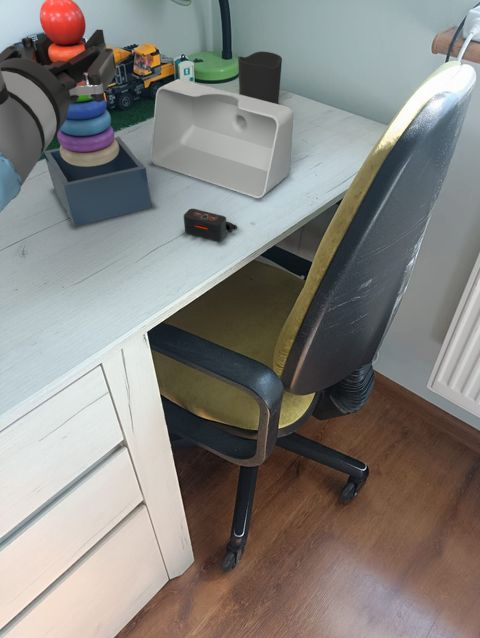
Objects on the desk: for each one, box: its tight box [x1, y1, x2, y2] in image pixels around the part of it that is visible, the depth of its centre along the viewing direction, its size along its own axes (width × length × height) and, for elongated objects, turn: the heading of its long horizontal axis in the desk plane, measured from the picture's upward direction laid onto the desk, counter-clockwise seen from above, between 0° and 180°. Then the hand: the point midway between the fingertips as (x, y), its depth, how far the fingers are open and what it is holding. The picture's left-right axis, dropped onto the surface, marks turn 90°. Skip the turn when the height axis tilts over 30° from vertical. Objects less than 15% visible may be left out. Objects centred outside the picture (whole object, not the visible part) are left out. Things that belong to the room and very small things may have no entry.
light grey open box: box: [149, 78, 294, 199], centre depth 93 cm, size 25×16×12 cm, turn 59°
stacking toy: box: [39, 0, 119, 167], centre depth 65 cm, size 8×8×19 cm
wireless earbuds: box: [183, 208, 238, 243], centre depth 80 cm, size 5×7×3 cm, turn 67°
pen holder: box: [237, 50, 283, 104], centre depth 114 cm, size 9×9×10 cm
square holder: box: [43, 136, 152, 227], centre depth 85 cm, size 13×13×7 cm
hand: (79, 40), depth 66 cm, fingers closed on stacking toy, 5 cm apart
